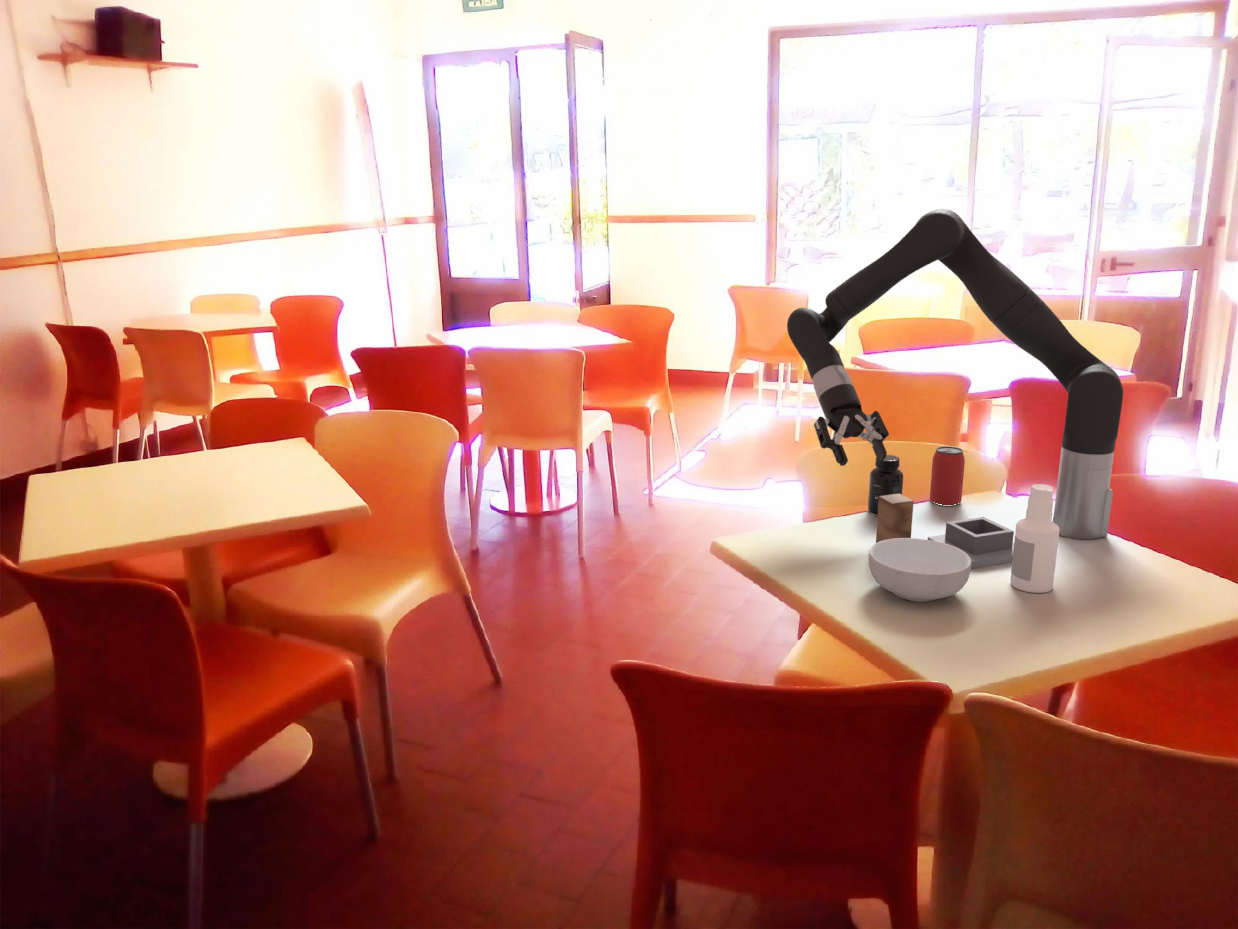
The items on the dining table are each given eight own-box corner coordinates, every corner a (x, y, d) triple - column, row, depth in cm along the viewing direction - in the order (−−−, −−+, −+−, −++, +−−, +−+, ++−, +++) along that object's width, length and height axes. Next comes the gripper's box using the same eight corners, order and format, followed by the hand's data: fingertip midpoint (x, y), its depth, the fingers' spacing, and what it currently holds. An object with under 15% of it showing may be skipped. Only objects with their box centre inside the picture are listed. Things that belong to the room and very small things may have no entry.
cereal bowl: (970, 619, 154) (974, 578, 152) (864, 607, 159) (866, 568, 157) (966, 578, 170) (969, 541, 168) (869, 569, 175) (871, 532, 173)
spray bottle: (1020, 574, 171) (1030, 478, 166) (1059, 585, 166) (1071, 486, 161) (1003, 586, 166) (1013, 487, 161) (1042, 597, 162) (1054, 496, 156)
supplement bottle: (860, 510, 205) (863, 456, 202) (884, 504, 209) (887, 451, 205) (884, 519, 200) (887, 464, 196) (907, 513, 203) (911, 458, 200)
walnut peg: (895, 547, 184) (899, 493, 181) (909, 556, 180) (913, 500, 177) (875, 550, 183) (878, 496, 180) (888, 559, 179) (892, 503, 176)
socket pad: (983, 535, 190) (985, 511, 188) (1029, 559, 178) (1032, 533, 176) (927, 544, 186) (929, 520, 184) (970, 568, 174) (973, 543, 172)
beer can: (923, 499, 211) (927, 447, 208) (948, 496, 213) (953, 444, 210) (941, 508, 205) (945, 454, 202) (967, 505, 207) (972, 451, 204)
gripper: (811, 385, 190) (839, 455, 182) (874, 379, 194) (903, 448, 187) (797, 405, 196) (824, 474, 189) (858, 399, 200) (886, 467, 193)
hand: (863, 461), depth 188 cm, fingers open, 8 cm apart
